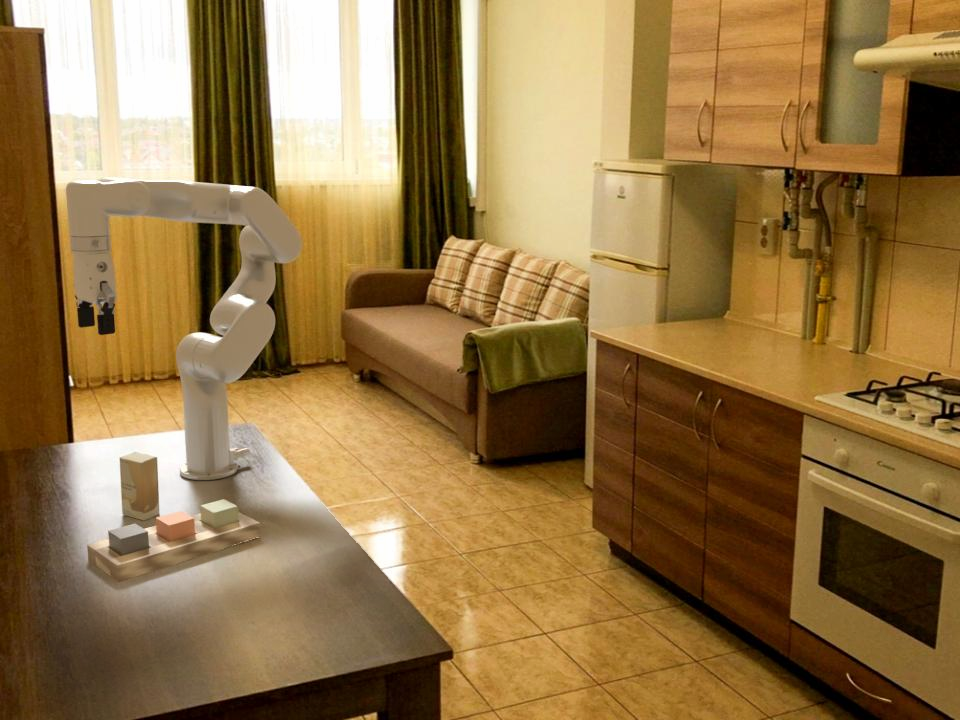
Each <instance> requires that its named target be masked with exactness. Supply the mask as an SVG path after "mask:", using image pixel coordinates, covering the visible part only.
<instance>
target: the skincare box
mask: <svg viewBox="0 0 960 720" xmlns="http://www.w3.org/2000/svg"><path fill="white" fill-rule="evenodd" d="M158 466H159V465H158V457H157V456H154V455H150V454H148V453H147V454H146V453H143V452H138V451H134V452H131V453H127V454H125V455H122V456H121V457H120V456H119V472H120V474H119V475H120V492H121V493H120V495H121V496H120V497H121V510H122V511H121V513H122V515H123V516H127V517H131V518H134V519H138V520H141V521H147V520H149V519H151V518H153V517H155V516H156V517H157V516H158V515H160V495H159V494H160V493H159V471H158V470H159V468H158Z"/></svg>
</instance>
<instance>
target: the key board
mask: <svg viewBox="0 0 960 720" xmlns="http://www.w3.org/2000/svg"><path fill="white" fill-rule="evenodd" d="M190 516H191V517H193V518H194V523H195V535H191V536H188V537H185V538H181V539H178V540H174V541H171V542H168V541H167V540H165V539H163V538H162V537H160V536H158V535H157V530H156V525H153V526H150V527H146V528H144V529H145V530H147V531H148V539H149V548H147V549H144V550H140V551H137V552H134V553H130V554H127V555H123V556H120V555H119V554H117V553H116V552H114V551H113V550H111V549H110V548H109V538H105V539H101V540H99V541H96V542H95V541H94V542H92V543H89V544H88V543H87V544H86V547H87V558H88V561H89V563H92V564H93V565H94V566H95V567H96V568H98V569H100V570H101V571H103V572H104V573H105V574H107V575H108V576H110V577H111V578H113V579H114V580H115V581H117V582H118V583H119V582H122V581H125V580H129V579H133V578H135V577H138V576H141V575H145V574H149V573H152V572H154V571H158V570H161V569H165V568H167V567H170V566H174V565H177V564H181V563H183V561H184V562H188V561H190V560H193V559H197V558H199V556H200V557H203V556H206V555H209V553H210V554H213V553H216V552H219V551H221V549H222V550H225V549H224V548H226V549H228V548H227V547H229V546H232V545H234V544H238V543H240V542H244V541H246V540H250V539H253V538H256V537H260V538H261V523H260V522H259V521H257V520H255V519H254V518H251V517H249V516H247V515H246V514H243V513H242V512H240V511H238V522H236V523H232V524H229V525H225V526H222V527H219V528H215V529H213V528H212V527H210V526H208V525H206V524H204V523H202V522H201V512H199V513H196V514H192V515H190ZM238 545H239V544H238ZM232 547H233V546H232ZM229 548H230V547H229ZM215 551H216V552H215ZM212 552H213V553H212ZM202 555H203V556H202ZM196 557H197V558H196ZM192 558H193V559H192ZM189 559H190V560H189ZM180 562H181V563H180Z"/></svg>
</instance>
